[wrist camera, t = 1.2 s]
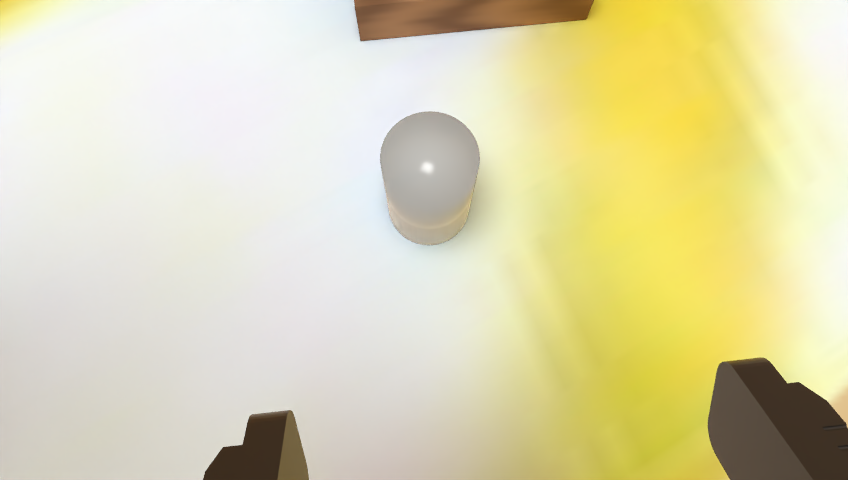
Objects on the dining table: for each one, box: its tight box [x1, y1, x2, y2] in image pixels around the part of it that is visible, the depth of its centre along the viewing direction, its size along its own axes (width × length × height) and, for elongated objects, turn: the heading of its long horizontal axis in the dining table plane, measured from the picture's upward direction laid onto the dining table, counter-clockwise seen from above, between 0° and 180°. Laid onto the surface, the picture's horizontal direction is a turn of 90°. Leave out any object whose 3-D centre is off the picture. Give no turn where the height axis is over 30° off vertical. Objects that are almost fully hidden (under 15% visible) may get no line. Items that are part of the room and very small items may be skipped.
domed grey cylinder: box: [380, 112, 480, 245], centre depth 34 cm, size 5×5×8 cm
